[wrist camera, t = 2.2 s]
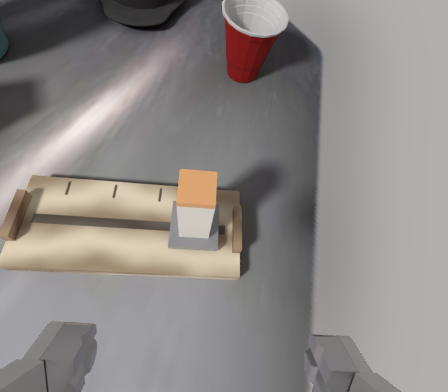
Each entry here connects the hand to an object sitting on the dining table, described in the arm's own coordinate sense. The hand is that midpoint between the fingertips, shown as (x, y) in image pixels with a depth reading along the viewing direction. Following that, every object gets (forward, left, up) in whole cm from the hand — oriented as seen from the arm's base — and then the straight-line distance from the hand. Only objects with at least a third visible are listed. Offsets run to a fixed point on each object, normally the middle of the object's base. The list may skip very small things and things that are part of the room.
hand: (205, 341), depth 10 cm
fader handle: (+13, +1, -22) cm, 25 cm away
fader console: (+13, +9, -24) cm, 29 cm away
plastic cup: (+46, -6, -25) cm, 52 cm away
